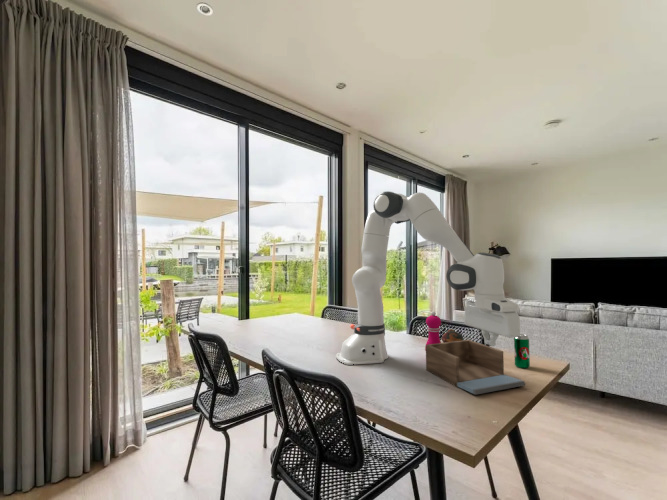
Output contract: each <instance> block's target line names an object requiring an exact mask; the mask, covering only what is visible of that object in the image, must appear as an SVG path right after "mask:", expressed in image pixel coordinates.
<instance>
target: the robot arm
mask: <svg viewBox="0 0 667 500" xmlns="http://www.w3.org/2000/svg"><path fill="white" fill-rule="evenodd" d="M372 205H373V206H372V207H373V209H372V210H370V211H369V212H368V214H367V217H366V221H365V224H364V229H363V236H362V242H361V243H362V244H361V247H360V248H361V249H360V251H361V257H362V258H361V261H362V263H361V264H362V267H360V268H358V269H357V270H356V271H355V272H354V273H353V275H352V276H351V277H352V278H351V284H352V286H353V288H354V292H355V293H354V294H355V298H356V299H355V300H356V304H357V322H358V323H356V325H355V323H354V324H353V323H351V324H350V325H349V328H350V329H352V330H353V331H354V332H353V333H352V334H351V335H349V336H348V338H346V339H345V340H344V341H343V342H342V343H341V349H340V352H337V353H336V355H335V359H336V358H337V359H338V360H339V361H340V362H339V361H338V360H337V359H336V360H337V361H338V362H339V363H341V362H342V364H343V363H344V364H343V365H347V366H350V365H353V364H354V365H367V364H383V363H384V362H385V360H387V359H388V358H389V355H388V350H387V345H386V340H385V334H386V328H385V323H384V303H383V300H382V295H381V289H382V288H383V287H384V285H385V283H386V280H387V255H388V254H387V253H388V247H389V238H390V231H391V227H392V225H393V224H394V223H395V224H397V225H398V224H402V223H406V222H411V224H412V225H413V227H414V229H415V231H416V232H417V233H418V235H419V236H421V237H422V238H423V239H424V240H426V241H429V242H430V243H435V244H437V245H438V246H441V247H443V248H444V249H446V251H448V252H449V253H450V255H451V256H452V257H453V259H454V261H456V263H453V264H451V265H450V266H449V267H448V268H447V271H446V274H445V275H446V276H445V277H446V281H447V283H448V285H449V286H450V287H451V288H452V289H453V290H455V291H456V290H457V291H472V290H473V291H474V299H473V298H469V299H468V300H467V301H466V304H465V305H466V306H465V308H464V309H465V310H464V318H463V319H464V321H463V322H464V324H465V326H468V327H471V328H475V329H478V330H480V331H481V332H480V333H481V335H482V337H483V340H484V345H486V346H489V347H495V346H496V345H497V343H496V341H497V339H498V338H499V336H502V337H506V338H511V339H514V337H518V336H519V334H521V320H520V315H519V314H518V312H519V310H520V307H519V304H518V303H516V302H514V301H512V300H511V299H509V298H507V297H505V291H504V290H505V289H504V283H505V270H504V269H505V267H504V262H503V259H502V257H501V256H499V255H498V254H495V253H490V252H477V253H476V254H474V253H473V252H472V251H471V250H470V248H469V247H468V245H466V243H465V242H464V240H463V239H462V238H461V237H460V235H458V234H457V232H456V230H454V228H452V226H451V225H450V223H449V222H448V221H447V219H446V217H444V214H443V213H442V212H441V211H440V208H438V206H437V205H436V204H435V202H434V201H433V200H432V199H431V198H430V197H429V196H428V195H427V194H425V193H423V192H415V193H413V194H411V195H410V196H407V195H404V194H402V193H395V192H393V191H382V192H380V193H378V194H377V195H376V197H374V200H373V204H372Z"/></svg>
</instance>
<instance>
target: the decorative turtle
mask: <svg viewBox="0 0 667 500" xmlns="http://www.w3.org/2000/svg"><path fill="white" fill-rule="evenodd" d="M462 340H465V338H464V337H463V335H462V334H461V333H460V332H458V331H455V330H454V329H452V328H450V329H448V330H447V331H446V332H445V333H444V334H442V337H441V342H442V343H445V342H454V341H462Z"/></svg>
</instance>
